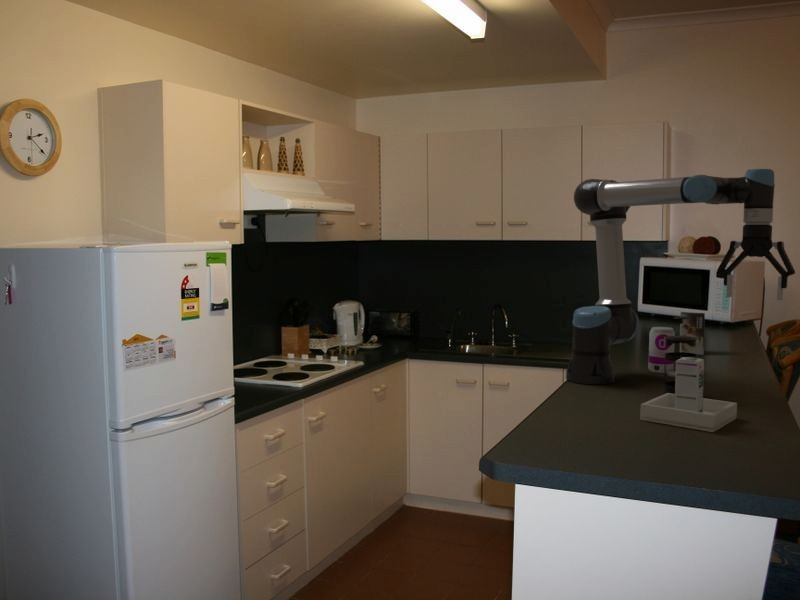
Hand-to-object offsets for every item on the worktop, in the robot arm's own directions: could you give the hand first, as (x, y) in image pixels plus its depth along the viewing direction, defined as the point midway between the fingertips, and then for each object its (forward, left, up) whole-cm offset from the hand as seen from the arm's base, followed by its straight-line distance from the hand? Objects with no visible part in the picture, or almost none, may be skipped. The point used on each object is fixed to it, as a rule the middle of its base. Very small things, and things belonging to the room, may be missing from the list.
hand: (753, 298), depth 216 cm
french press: (-16, -11, -29) cm, 35 cm away
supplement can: (-35, +23, -29) cm, 51 cm away
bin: (-4, -38, -29) cm, 48 cm away
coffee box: (-41, +70, -29) cm, 86 cm away
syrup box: (-4, -38, -28) cm, 47 cm away
